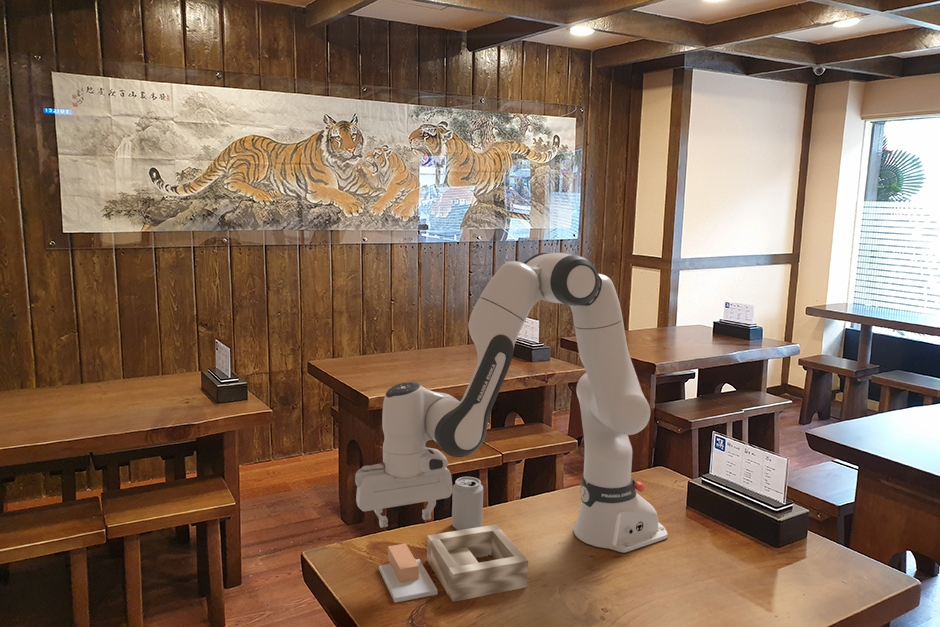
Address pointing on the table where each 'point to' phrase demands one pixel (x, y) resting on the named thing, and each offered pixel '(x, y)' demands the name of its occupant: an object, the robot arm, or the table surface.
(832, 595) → the table surface
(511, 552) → the pocket block
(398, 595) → the mat
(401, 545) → the bar
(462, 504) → the can
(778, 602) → the table surface
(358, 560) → the table surface
